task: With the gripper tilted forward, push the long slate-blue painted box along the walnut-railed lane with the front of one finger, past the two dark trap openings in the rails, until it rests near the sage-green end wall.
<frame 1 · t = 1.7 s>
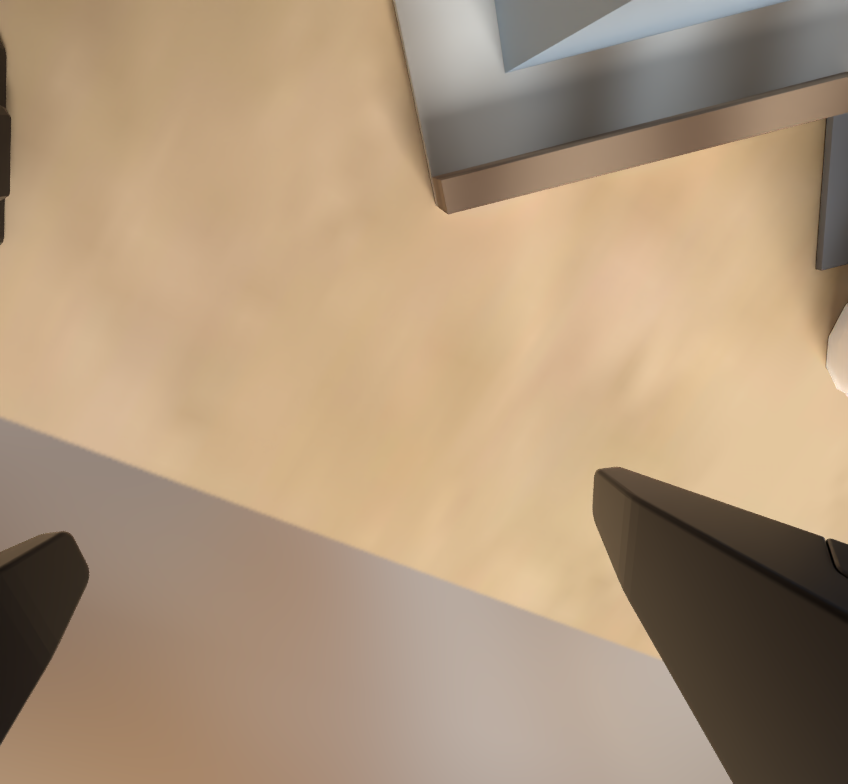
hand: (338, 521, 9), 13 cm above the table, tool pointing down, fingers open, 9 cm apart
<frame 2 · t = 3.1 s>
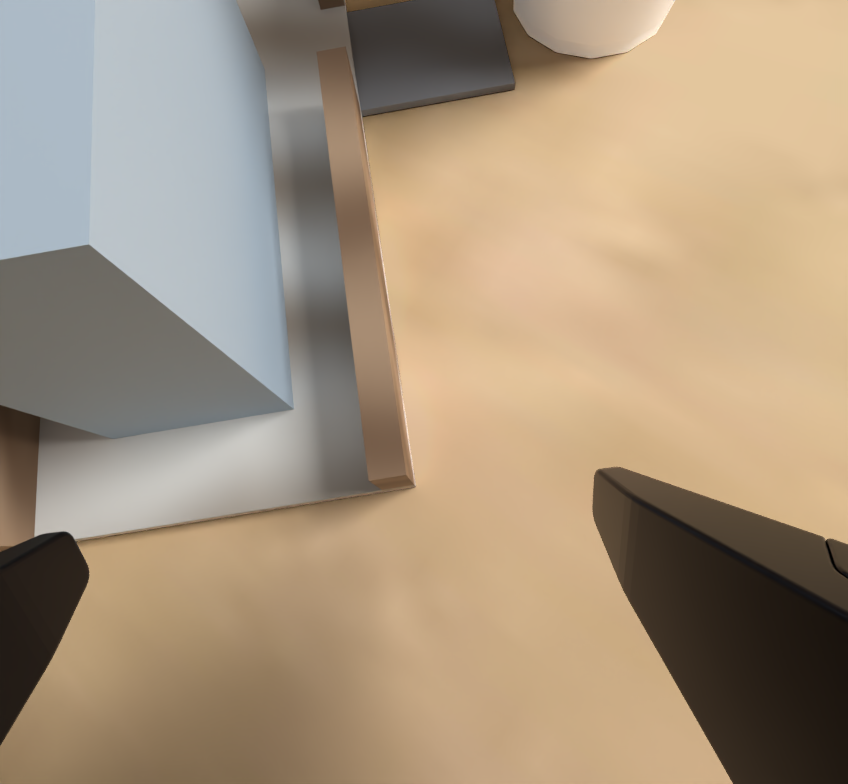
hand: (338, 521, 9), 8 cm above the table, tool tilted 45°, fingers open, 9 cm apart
foam cup: (589, 1, 22), on the table
lane: (201, 188, 21), on the table
slate box: (196, 236, 20), point 1 cm above the table, touching lane
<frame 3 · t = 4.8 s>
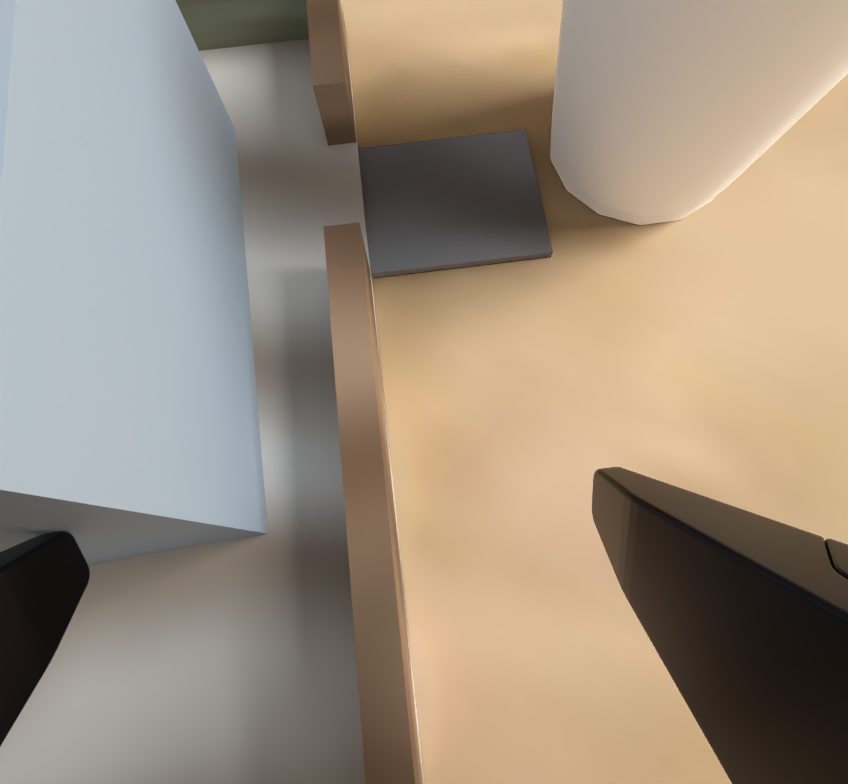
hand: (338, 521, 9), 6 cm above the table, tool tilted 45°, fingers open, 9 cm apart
foam cup: (635, 152, 20), on the table
lane: (174, 357, 17), on the table
slate box: (154, 322, 17), point 1 cm above the table, touching gripper, lane
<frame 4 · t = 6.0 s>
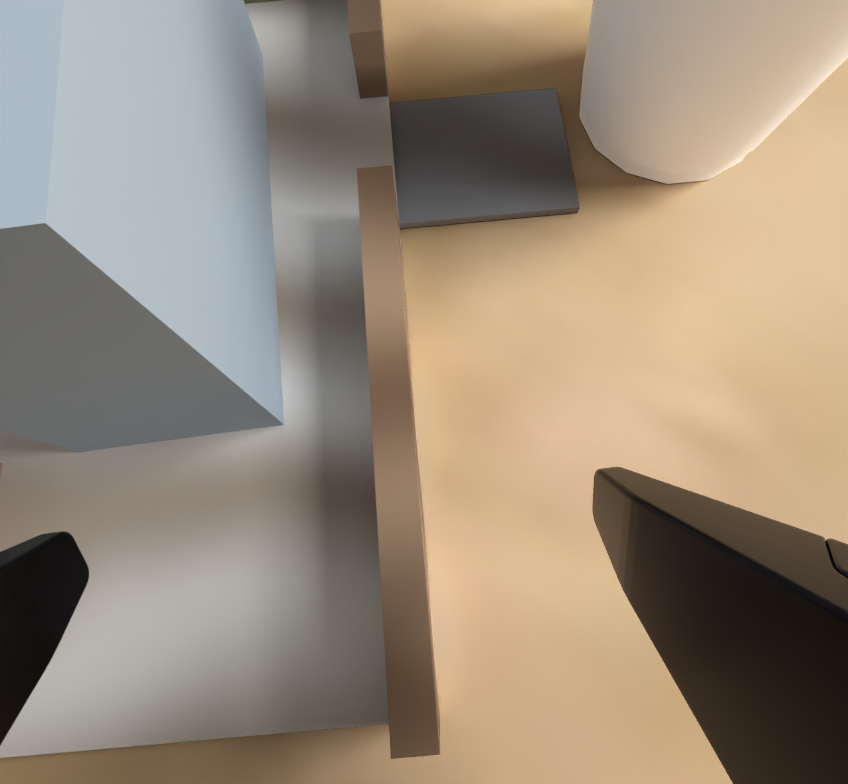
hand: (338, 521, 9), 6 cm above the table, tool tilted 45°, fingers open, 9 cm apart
foam cup: (665, 113, 20), on the table
lane: (205, 299, 18), on the table
slate box: (181, 230, 18), point 1 cm above the table, touching lane
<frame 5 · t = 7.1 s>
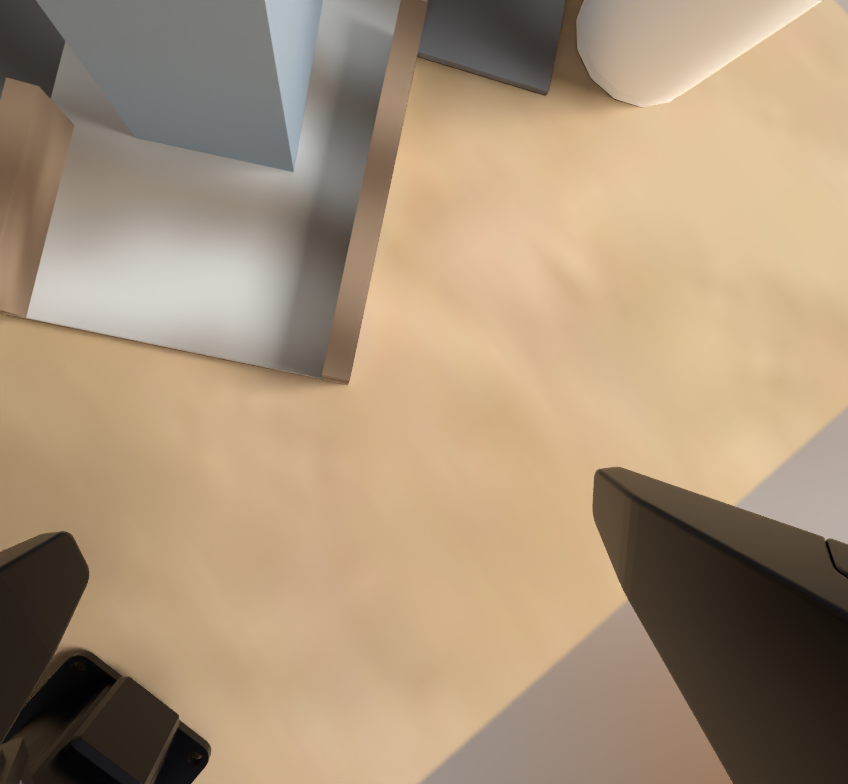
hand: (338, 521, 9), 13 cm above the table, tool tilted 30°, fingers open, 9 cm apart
foam cup: (636, 43, 25), on the table
lane: (252, 54, 22), on the table
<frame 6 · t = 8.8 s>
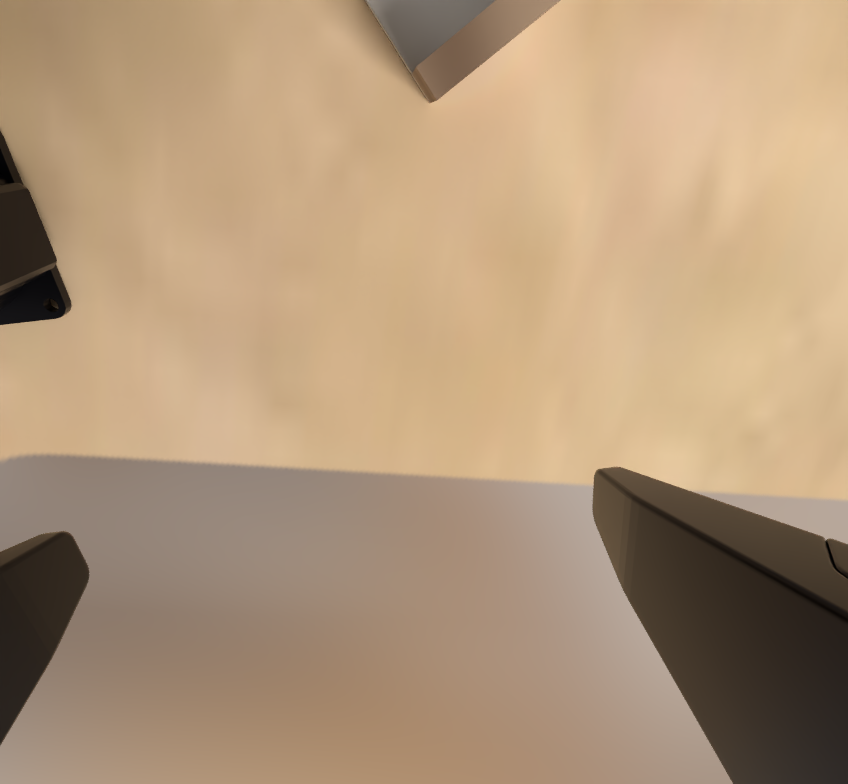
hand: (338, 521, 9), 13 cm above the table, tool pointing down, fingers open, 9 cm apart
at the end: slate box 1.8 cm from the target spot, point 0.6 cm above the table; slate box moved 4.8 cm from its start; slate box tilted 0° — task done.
